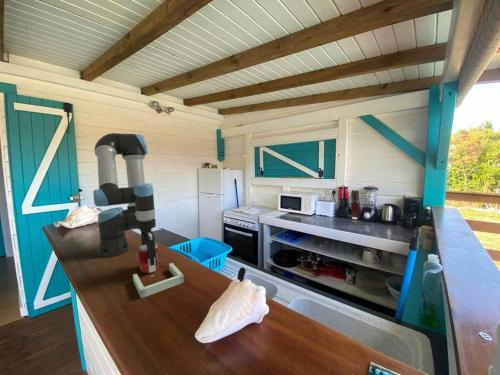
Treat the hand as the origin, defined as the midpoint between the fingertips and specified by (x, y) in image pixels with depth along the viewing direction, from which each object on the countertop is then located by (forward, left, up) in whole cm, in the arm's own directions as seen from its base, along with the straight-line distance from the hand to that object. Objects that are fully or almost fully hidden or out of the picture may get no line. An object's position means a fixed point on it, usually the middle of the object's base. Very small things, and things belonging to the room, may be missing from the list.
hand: (149, 267), depth 99 cm
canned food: (0, 0, -1) cm, 1 cm away
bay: (+13, 0, -1) cm, 13 cm away
